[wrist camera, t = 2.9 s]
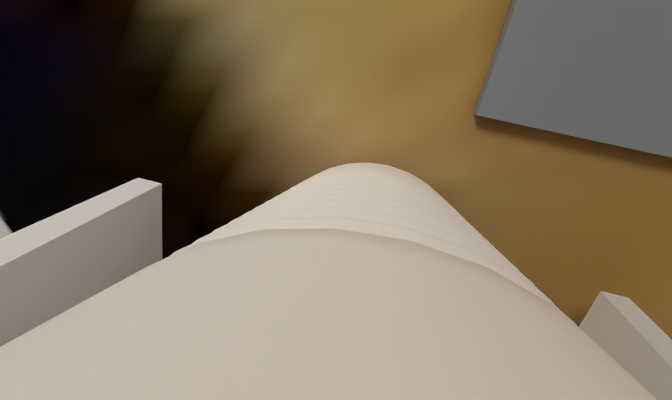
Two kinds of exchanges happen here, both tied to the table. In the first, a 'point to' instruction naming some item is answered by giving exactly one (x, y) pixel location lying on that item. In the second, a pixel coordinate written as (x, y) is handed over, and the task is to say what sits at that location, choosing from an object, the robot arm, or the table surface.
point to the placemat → (586, 71)
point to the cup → (322, 313)
